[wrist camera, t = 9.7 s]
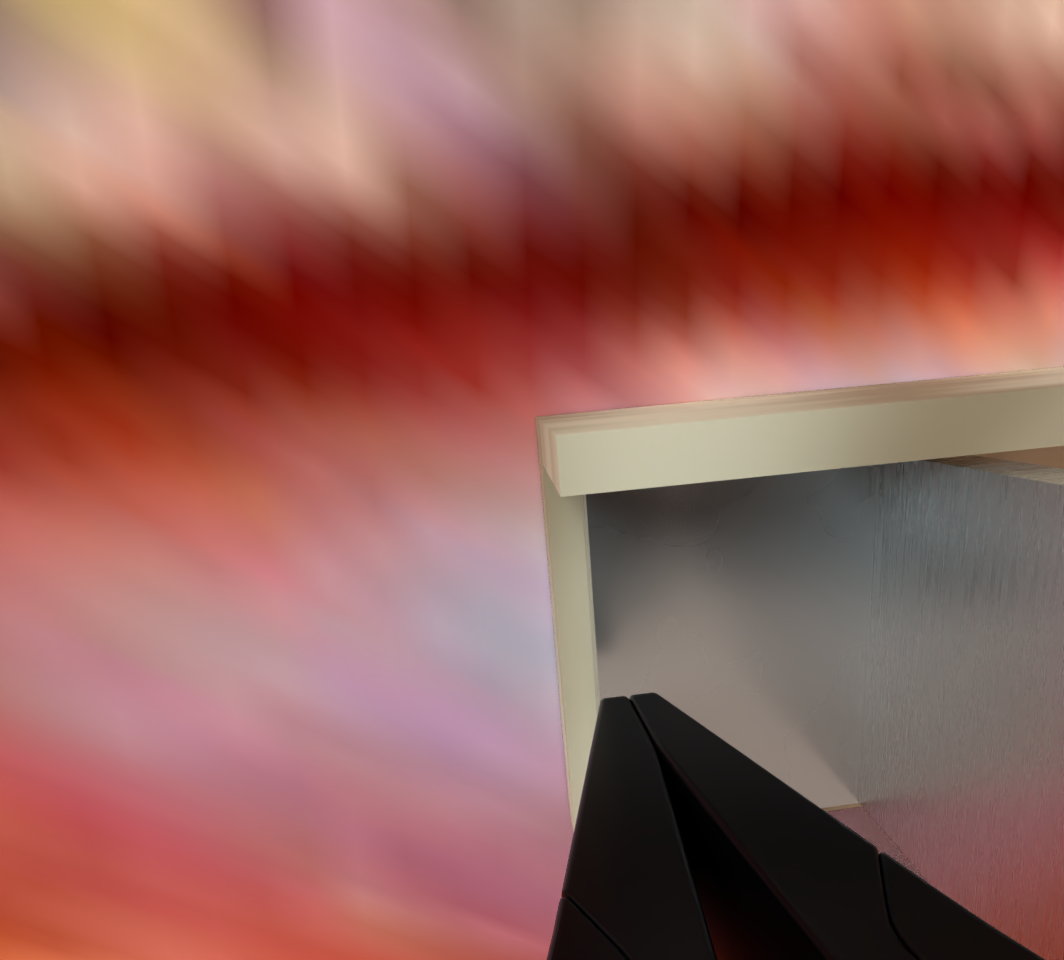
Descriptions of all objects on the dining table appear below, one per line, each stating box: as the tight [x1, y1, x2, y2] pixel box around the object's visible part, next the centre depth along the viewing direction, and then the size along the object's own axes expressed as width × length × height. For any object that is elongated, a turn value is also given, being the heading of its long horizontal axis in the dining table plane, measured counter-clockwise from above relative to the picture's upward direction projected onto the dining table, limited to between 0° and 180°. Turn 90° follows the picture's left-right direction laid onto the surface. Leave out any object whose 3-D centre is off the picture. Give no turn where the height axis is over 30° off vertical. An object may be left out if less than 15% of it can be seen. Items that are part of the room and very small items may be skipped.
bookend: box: [581, 455, 1064, 960], centre depth 7 cm, size 6×7×6 cm
